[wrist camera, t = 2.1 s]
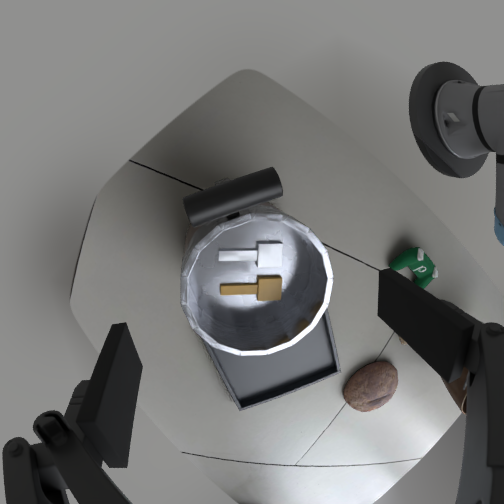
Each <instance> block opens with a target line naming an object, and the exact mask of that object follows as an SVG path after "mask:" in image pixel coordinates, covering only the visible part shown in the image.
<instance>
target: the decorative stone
mask: <svg viewBox="0 0 504 504" xmlns="http://www.w3.org/2000/svg"><path fill="white" fill-rule="evenodd" d="M397 384H398V374H397V370H396V368H395V367H394V366H393V365H391V364H390V363H388V362H385V361H379V362H374V363H371V364H369V365H367V366H365V367H363V368H362V369H360V370H359V371H357V372H356V373H355V374H354V375H353V376H352V377H351V378H350V380H349V381H348V383H347V384H346V386H345V389H344V399H345V401H346V402H347V403H348V404H349V405H350V406H351V407H352V408H354V409H356V410H358V411H361V412H367V411H371V410H374V409H377V408H379V407H381V406H382V405H384V404H385V403H387V402H388V401H389V400H390V399H391V398H392V396H393V394H394V393H395V391H396V388H397Z"/></svg>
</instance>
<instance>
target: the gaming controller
mask: <svg viewBox="0 0 504 504" xmlns="http://www.w3.org/2000/svg"><path fill="white" fill-rule="evenodd" d="M406 266H408V267H409V268H410V269H411V270H412V271H413V272H414V273H415V275H417V278H416V279H415V281H414V282H413V283H415V284H416V285H418V286H420V287H421V288H423V289H424V288H425V287H426V286H427V285H428V284H429V283H430V282H431V281H432V280H433V279H434V278H437V276H438V270H437V267H436V266H435V265H434V264H433V262H432V261H431V260H430V258H429V257H428V256H427V255H426V254H425V253H424V252H423V250H422V249H421V248H419V247H415V248H410V249H408V250H406V251H404V252H403V253H402V254H400V255H399V256H398V257H396V258H395V259H394V260H393V261H392V262H391V263H390V265H389V267H390V268H392V269H393V270H395V271H396V270H400V269H402V268H404V267H406Z"/></svg>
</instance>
